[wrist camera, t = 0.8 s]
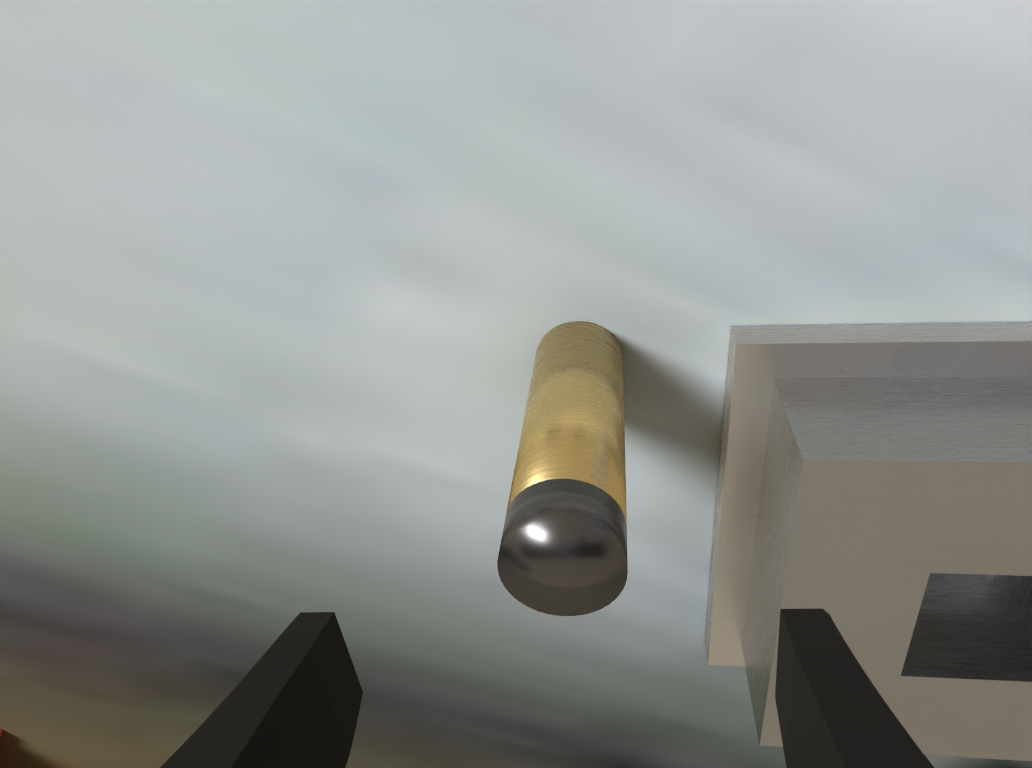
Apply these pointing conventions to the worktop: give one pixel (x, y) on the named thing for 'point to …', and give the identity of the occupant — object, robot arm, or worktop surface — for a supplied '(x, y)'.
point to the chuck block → (884, 519)
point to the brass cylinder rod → (569, 478)
